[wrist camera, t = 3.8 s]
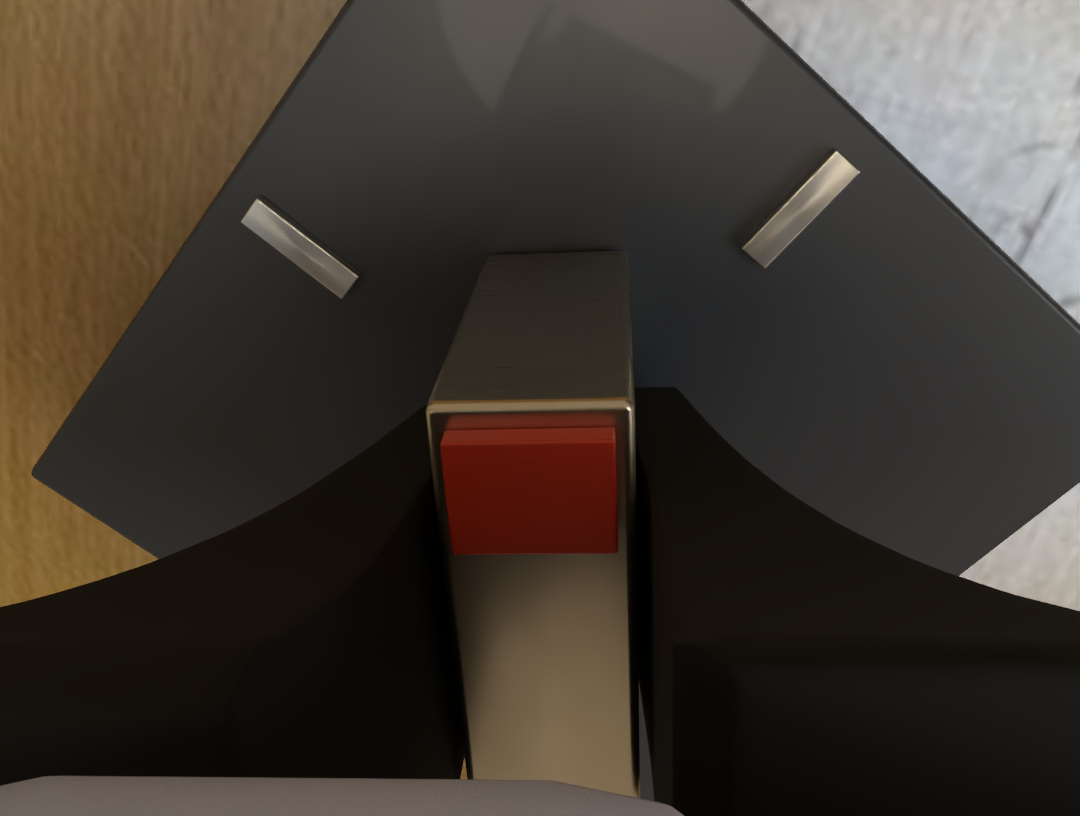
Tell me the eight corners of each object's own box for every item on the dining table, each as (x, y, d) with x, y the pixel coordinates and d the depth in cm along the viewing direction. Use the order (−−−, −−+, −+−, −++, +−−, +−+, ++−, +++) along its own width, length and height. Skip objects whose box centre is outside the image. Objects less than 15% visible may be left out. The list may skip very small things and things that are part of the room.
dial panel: (605, 713, 18) (604, 860, 15) (129, 382, 15) (19, 482, 13) (1064, 322, 14) (1180, 420, 11) (525, -190, 12) (498, -234, 9)
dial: (633, 613, 13) (642, 894, 9) (513, 614, 13) (472, 890, 9) (628, 248, 11) (636, 416, 7) (484, 253, 11) (415, 420, 7)
